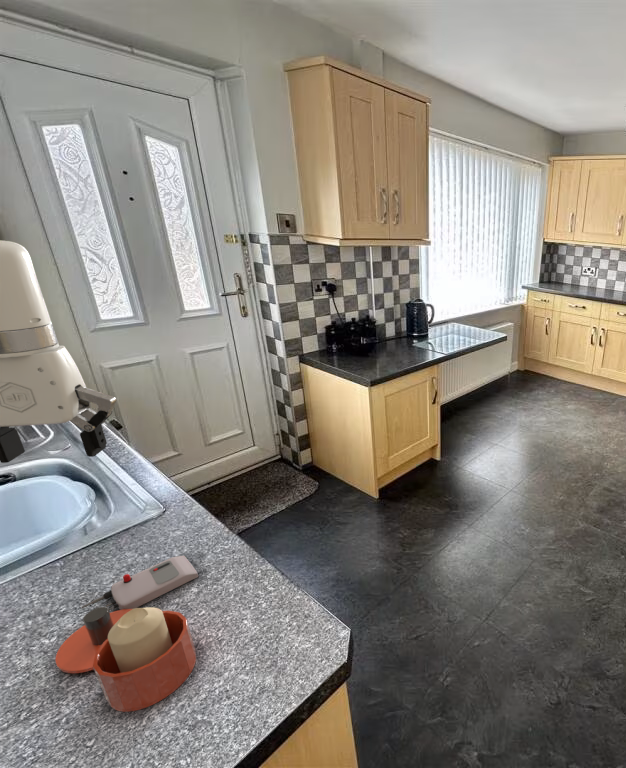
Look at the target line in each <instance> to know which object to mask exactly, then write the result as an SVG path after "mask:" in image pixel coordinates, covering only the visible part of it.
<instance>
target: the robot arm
mask: <svg viewBox="0 0 626 768" xmlns="http://www.w3.org/2000/svg"><path fill="white" fill-rule="evenodd" d="M116 403H117V398H116V397H115V396H113V395H110V394H106V393H103V392H100V391H98V390H94V389H91V388H88V387H87V385H86V383H85V380H84V378H83V376H82V373H81V372H80V370H79V367H78V366H77V363H76V362H75V360H74V358H73V356H72V355H71V354H70V352H69V350H68V349H67V348H66V346H65V345H60V343H59V340H58V338H57V334H56V332H55V328H54V325H53V323H52V319H51V316H50V313H49V309H48V308H47V304H46V300H45V298H44V295H43V292H42V289H41V285H40V283H39V280H38V277H37V274H36V270H35V267H34V265H33V261H32V258H31V255H30V253H29V251H28V250H27V249H26V248H25V246H23V245H21V244H19V243H18V242H14V241H11V240H1V239H0V463H1V464H5V463H10V462H11V461H13V460H15V459H16V458H17V457H18V458H19V456H21V455H23V454H24V453H25V452H26V449H25V447H24V445H23V442H22V439H21V437H20V435H19V432H18V430H17V429H16V427H27V426H45V425H60V424H65V423H68V422H70V423H72V424H73V425H75V426H77V427H78V428H80V429H81V430H82V431H81V432H80V433H79V437H80V439H81V443H82V445H83V448H84V451H85V454H86V456H87V457H89V458H92V457H95V456H97V455H98V454H99V453H102V451H104V450H105V449H106V448H107V439H106V436H105V432H104V429H103V424H104V423H106V420H107V419H108V418H109V417H111V415H113V410H114V408H115V405H116ZM92 404H95V405H97V406H98V408H97V411H95V410H93V409H92Z"/></svg>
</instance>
